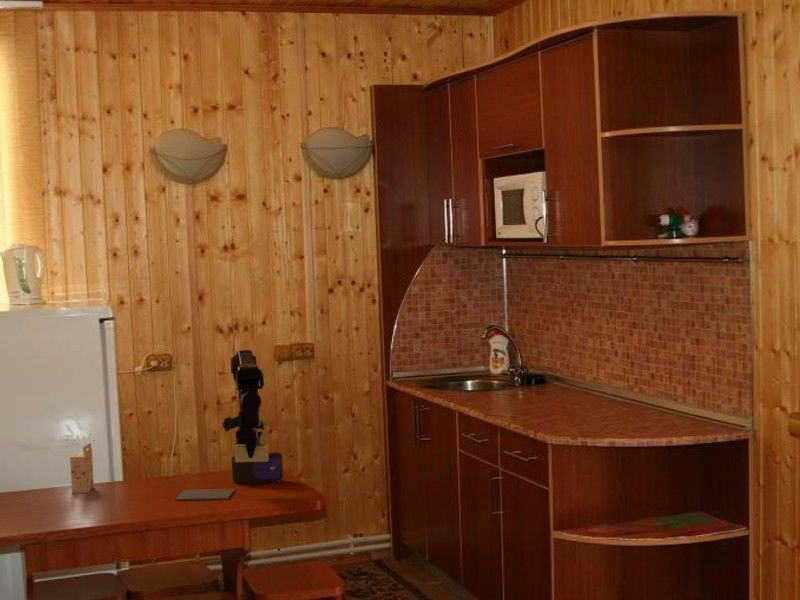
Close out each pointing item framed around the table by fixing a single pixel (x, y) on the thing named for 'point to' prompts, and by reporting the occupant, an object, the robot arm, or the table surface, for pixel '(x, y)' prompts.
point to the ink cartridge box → (82, 471)
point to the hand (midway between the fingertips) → (251, 456)
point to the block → (258, 456)
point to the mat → (205, 494)
